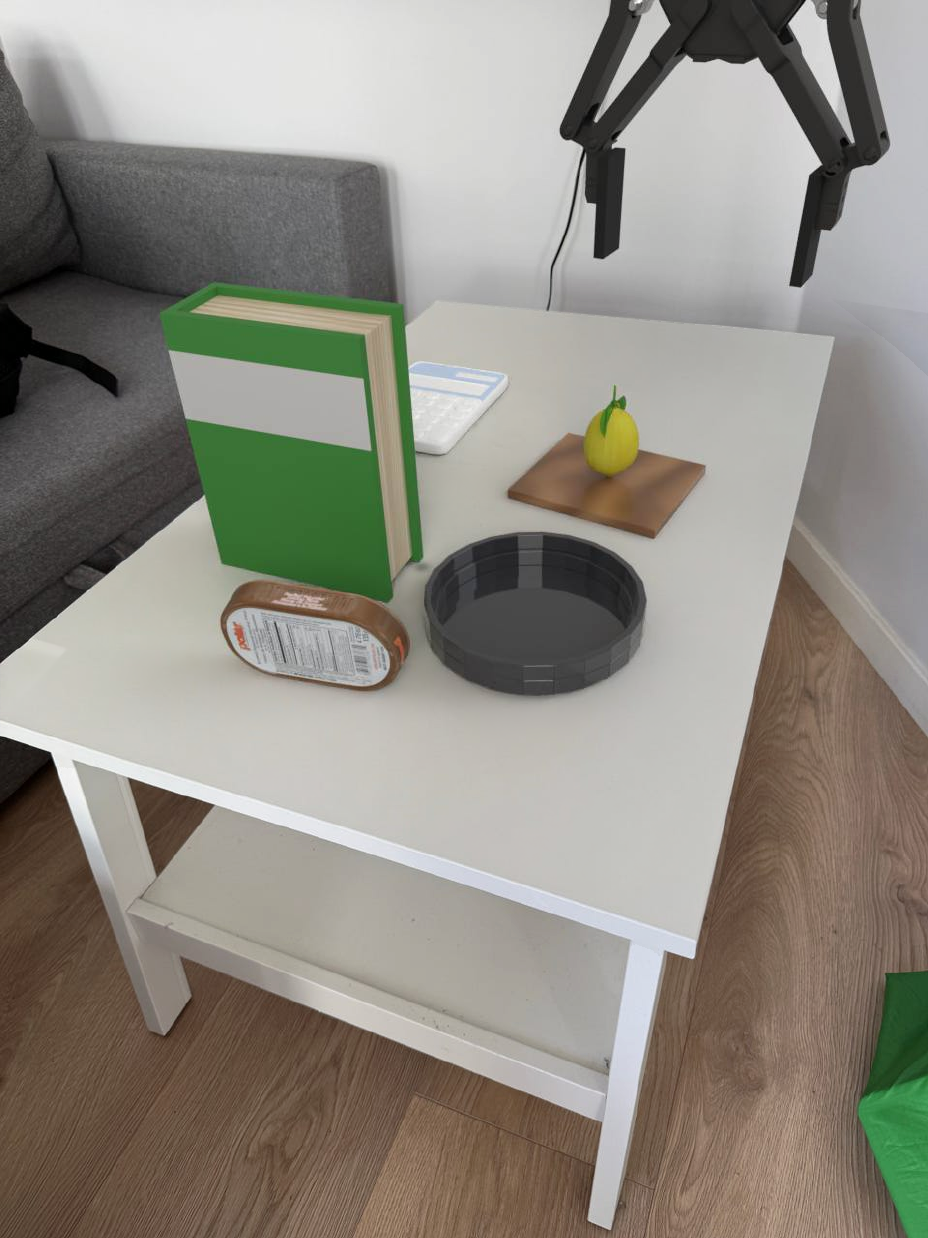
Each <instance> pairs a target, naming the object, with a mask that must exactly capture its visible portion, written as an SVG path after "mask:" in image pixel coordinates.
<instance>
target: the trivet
mask: <svg viewBox="0 0 928 1238" xmlns="http://www.w3.org/2000/svg"><path fill="white" fill-rule="evenodd" d="M584 438H585V435H580V434H575V433H571V432H568V433H567V434H565V435H564V436H563V437H562V438H561V439H560V440H559V441H558V442H556V444H555V445H554V446H553V447H551V449H549V450H548V451H547V452H546V453H545V454H544V455H543V456H542V457H541V458H540V459H539V460H537V461H536V463H535V464H533V465H532V467H530V468H529V469H528V470H527V471H526V472H524V474H523V475H522V476H521V477H520V478H519V479H517V480H516V481H515V483H514V484H512V485H511V486H510V487H509V488H508V489H507V498H508V499H510V500H514V501H518V502H522V503H526V504H529V505H532V506H537V507H540V508H542V509H544V508H545V509H547V510H551V511H554V512H558V513H561V514H564V515H569V516H572V517H576V518H580V519H582V520H586V521H590V522H594V523H598V524H600V525H604V526H608V527H612V528H615V529H619V530H622V531H626V532H629V533H633V534H636V535H640V536H644V537H648V538H651V539H655V538H656V537H657V536H658V535H659V533H660V532H661V530H663V528H664V527H665V526H666V524H668V521H669V520H670V519H671V518H672V516H673V515H674V514H675V512H676V511H677V510H678V509H679V508H680V506H681V504H683V502H684V501H685V500H686V498H687V497H688V496H689V494H690V493H691V492H692V490H694V488H695V487H696V485H698V483H699V482H700V481H701V479H702V478H703V476H704V475H705V474H706V468H707V465H706V464H703V463H698V462H694V461H690V460H686V459H682V458H681V459H680V458H677V457H673V456H668V455H664V454H660V453H657V452H656V453H655V452H652V451H647V450H643V449H639V448H638V453H637V456H636V459H635V461H634V462H633V463H632V464H631V465H630V466H629V467H628V468H627V469H626V470H624V471H623V472H620V473H617V474H614V475H613V476H612V477H608V476H606V475H604V474H601V473H599V472H596V471H594V470H593V469H592V468H590V467H589V465H588V464H587V462H586V459H585V455H584V449H583V445H584Z"/></svg>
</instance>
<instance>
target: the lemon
mask: <svg viewBox="0 0 928 1238" xmlns="http://www.w3.org/2000/svg"><path fill="white" fill-rule="evenodd" d="M612 393H613V394H612V400H611V401H610V402H609V404H608V405H607V406H606V408H604V409H602V410H600V411H599V412H598V413H596V414H595V415H594V416H593V418H592V419H591V420H590V421H589V424H588V425H587V428H586V431H585V434H584V437H585V438H584V445H583V449H584V455H585V459H586V462H587V464H588V465H589V467H590V468H592V469H593V470H594V471H596V472H599V473H601V474H604V475H606V476H608V477H612V476H613V475H614V474H617V473H620V472H623V471H624V470H626V469H627V468H628V467H629V466H630V465H631V464H632V463H633V462H634V461H635V459H636V456H637V453H638V449H639V447H640V436H639V429H638V426H637V424H636V421H635V419H634V418H633V416H632V415H631V414H630V413H628V412H627V411H626V407H627V399H626V396H625V395H622V396H621V397H619V399H616V396H617V386H616V385H615V384H614V385H613V392H612Z"/></svg>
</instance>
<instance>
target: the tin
mask: <svg viewBox="0 0 928 1238" xmlns="http://www.w3.org/2000/svg"><path fill="white" fill-rule="evenodd" d="M219 622H220V630H221V633H222V635H223V638H224V640H225V642H226V644H227V645H228V648H229V649H230V651H231V652H232V653H233V655H235V656H236V657H237V658H238V659H240V660H241V661H242V662H243V663H244V664H246V665H247V666H249V667H251V668H252V669H254V670H256V671H258V672H261V673H263V674H266V675H269V676H274V677H278V678H283V679H290V680H295V681H302V682H306V683H312V684H317V685H323V686H329V687H334V688H341V689H346V690H352V691H360V692H371V691H377V690H380V689H382V688H385V687H387V686H388V685H390V684H391V683H392V682H393V681H394V680H395V679H396V677H397V676H398V674H399V672H400V670H401V668H402V666H403V664H404V662H405V661H406V659H407V658H408V655H409V653H410V648H411V644H410V643H411V642H410V637H409V634H408V631H407V629H406V627H405V626H404V624H403V622H402V621H401V619H400V618H399V617H398V616H397V615H396V614H395V613H394V612H393V611H392V610H390V608H387V607H386V606H385V605H384V604H382V603H380V602H378V600H376V599H371V598H368V597H365V596H362V595H358V594H353V593H346V592H341V591H337V590H333V589H328V588H321V587H313V586H306V585H301V584H300V585H299V584H294V583H287V582H281V581H274V580H267V579H256V580H254V579H253V580H250V581H247V582H245V583H242V584H240V585H239V586H238V587H237V588H236V589H235V590H234V591H233V593H232V595H231V597H230V599H229V601H228V603H227V604H226V605H225V607H224V609H223V611H222V613H221V615H220V618H219Z"/></svg>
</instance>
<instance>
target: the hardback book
mask: <svg viewBox="0 0 928 1238" xmlns="http://www.w3.org/2000/svg"><path fill="white" fill-rule="evenodd" d="M158 314H159V318H160V322H161V325H162V330H163V334H164V339H165V342H166V346H167V349H168V354H169V357H170V358H169V359H170V361H171V367H172V370H173V374H174V378H175V383H176V386H177V390H178V394H179V397H180V402H181V406H182V410H183V414H184V419H185V422H186V426H187V431H188V433H189V434H188V435H189V438H190V442H191V446H192V450H193V454H194V458H195V459H194V460H195V462H196V467H197V470H198V474H199V479H200V483H201V486H202V487H201V488H202V491H203V494H204V498H205V502H206V506H207V510H208V514H209V519H210V522H211V526H212V530H213V535H214V538H215V542H216V546H217V550H218V551H217V552H218V556H219V558H220V563H221V565H227V566H230V567H235V568H239V569H244V570H247V571H252V572H256V573H261V574H265V575H269V576H273V577H278V578H282V579H286V580H290V581H295V582H299V583H303V584H307V585H312V586H316V587H319V588H323V589H328V590H333V591H340V592H346V593H353V594H358V595H362V596H365V597H368V598H371V599H373V600H375V601H380V602H385V603H390V602H391V600H392V599H393V598H394V592H393V583H392V582H393V580H395V578H396V577H397V575H398V574H399V573H400V572H401V570H402V569H403V568H404V567H405V565H407V563H408V562H409V561H411V562H415V563H421V561H422V560H423V559H424V547H423V536H422V522H421V521H422V520H421V510H420V508H421V507H420V498H419V485H418V474H417V473H418V472H417V471H418V470H417V458H416V451H415V445H414V433H413V420H412V407H411V395H410V382H409V370H408V367H409V359H408V344H407V334H406V319H405V309H404V303H398V302H388V301H380V300H373V299H372V300H371V299H364V298H363V299H362V298H354V297H347V296H338V295H337V296H336V295H330V294H329V295H328V294H321V293H312V292H303V291H294V290H285V289H277V288H275V289H274V288H269V287H259V286H251V285H241V284H233V283H224V282H215V281H214V282H212V283H210V284H208V285H206V286H205V287H203V288H201V289H199V290H198V291H196V292H194V293H192V294H191V295H188V296H187V297H185V298H184V299H181V300H180V301H178V302H177V303H174V304H173V305H171V306H169V307H167V308H166V309H164V310H162V311H161V312H159V313H158Z"/></svg>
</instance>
